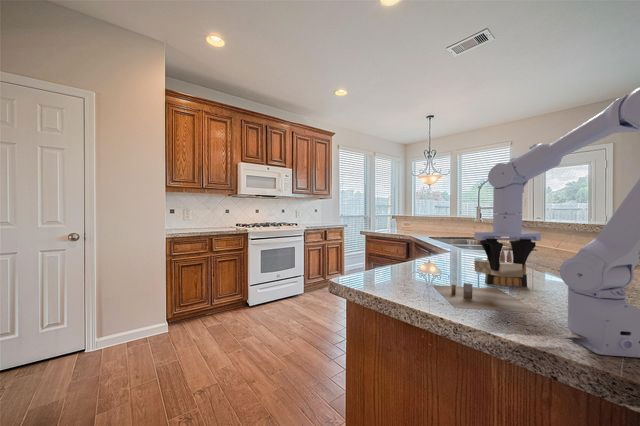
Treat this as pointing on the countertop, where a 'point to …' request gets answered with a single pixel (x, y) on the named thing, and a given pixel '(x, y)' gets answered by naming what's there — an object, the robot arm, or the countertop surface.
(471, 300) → the post board
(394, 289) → the countertop surface
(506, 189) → the robot arm
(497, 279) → the ammunition clip
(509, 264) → the beige rectangular block
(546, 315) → the countertop surface
